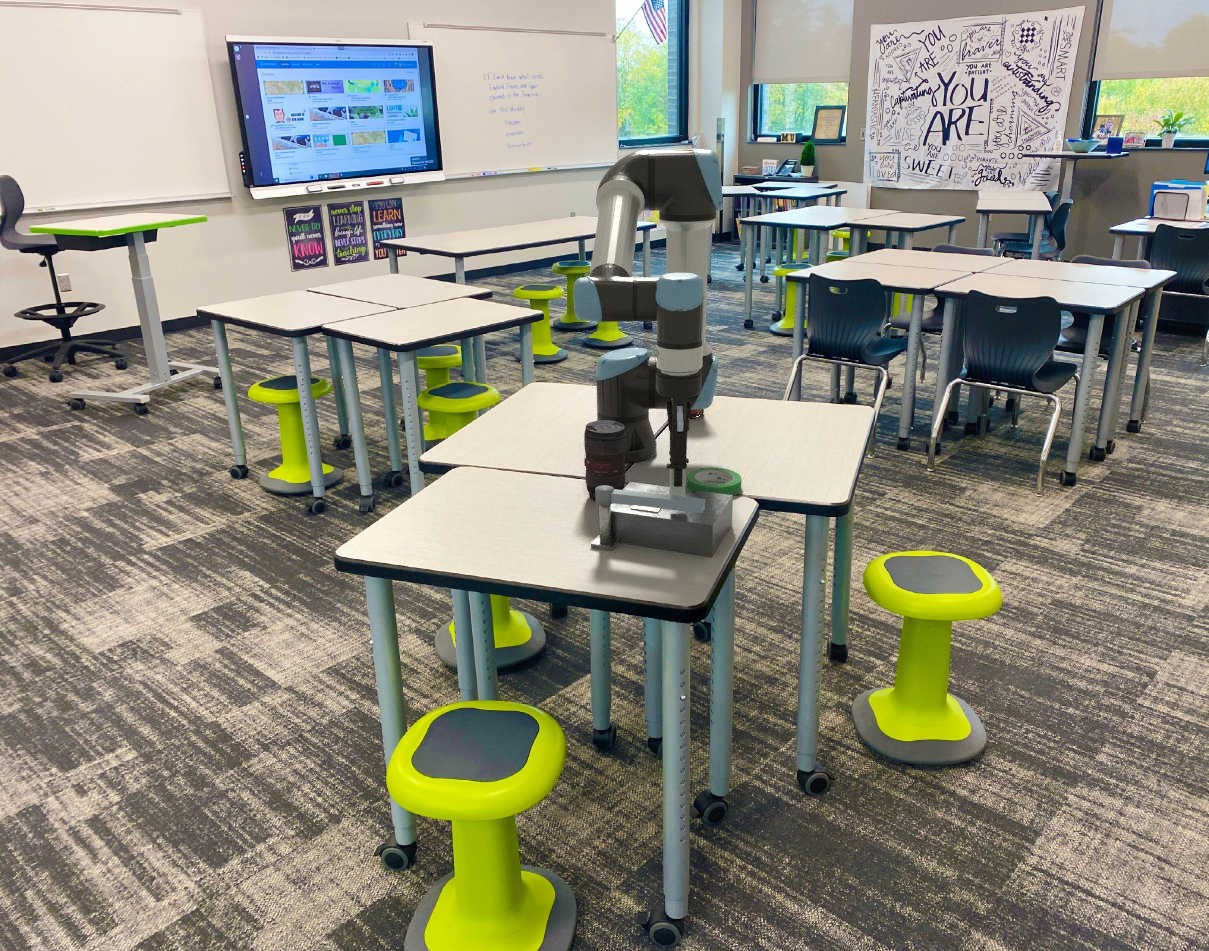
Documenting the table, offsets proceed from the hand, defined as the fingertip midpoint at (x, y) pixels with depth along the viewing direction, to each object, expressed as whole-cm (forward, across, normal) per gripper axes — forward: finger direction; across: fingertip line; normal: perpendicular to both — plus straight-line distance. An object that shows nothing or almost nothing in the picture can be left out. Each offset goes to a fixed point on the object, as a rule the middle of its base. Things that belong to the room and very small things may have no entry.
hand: (677, 500), depth 155 cm
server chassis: (+8, -2, -2) cm, 8 cm away
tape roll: (+9, -25, +9) cm, 28 cm away
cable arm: (0, +4, -5) cm, 6 cm away
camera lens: (+8, -21, -13) cm, 26 cm away
